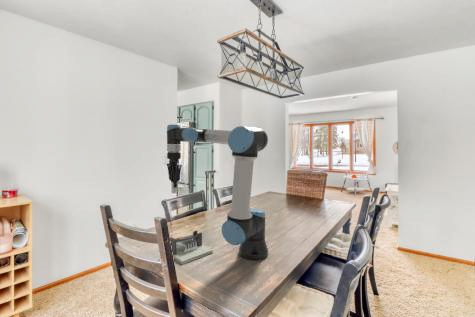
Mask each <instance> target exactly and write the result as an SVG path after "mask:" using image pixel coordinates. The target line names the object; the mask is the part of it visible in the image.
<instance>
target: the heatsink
mask: <svg viewBox="0 0 475 317" xmlns="http://www.w3.org/2000/svg"><path fill="white" fill-rule="evenodd" d="M176 249H178V250H180V251H181V252H183V253H187V252H190V251H193V250H196V249H198V246H197V242H196V241H194V240H192V239H190V240H185V241H181V242H177V245H176Z"/></svg>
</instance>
